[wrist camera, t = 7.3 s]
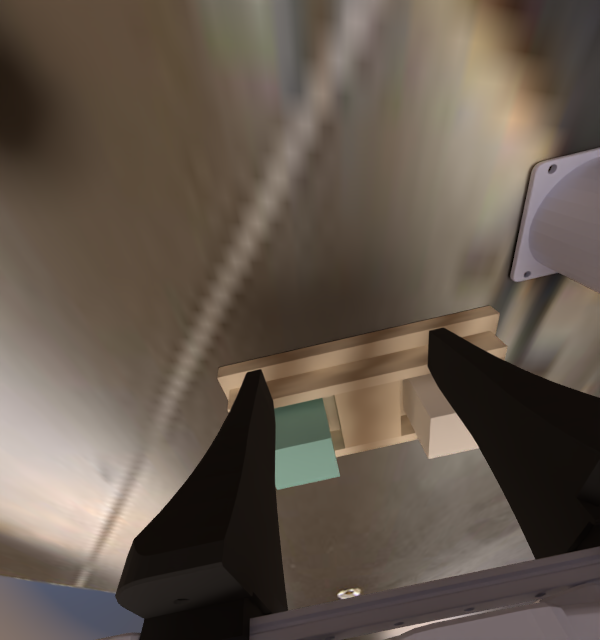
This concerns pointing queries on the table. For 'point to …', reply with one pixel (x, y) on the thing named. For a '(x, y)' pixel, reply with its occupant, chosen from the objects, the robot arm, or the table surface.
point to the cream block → (434, 418)
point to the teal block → (303, 445)
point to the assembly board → (362, 376)
